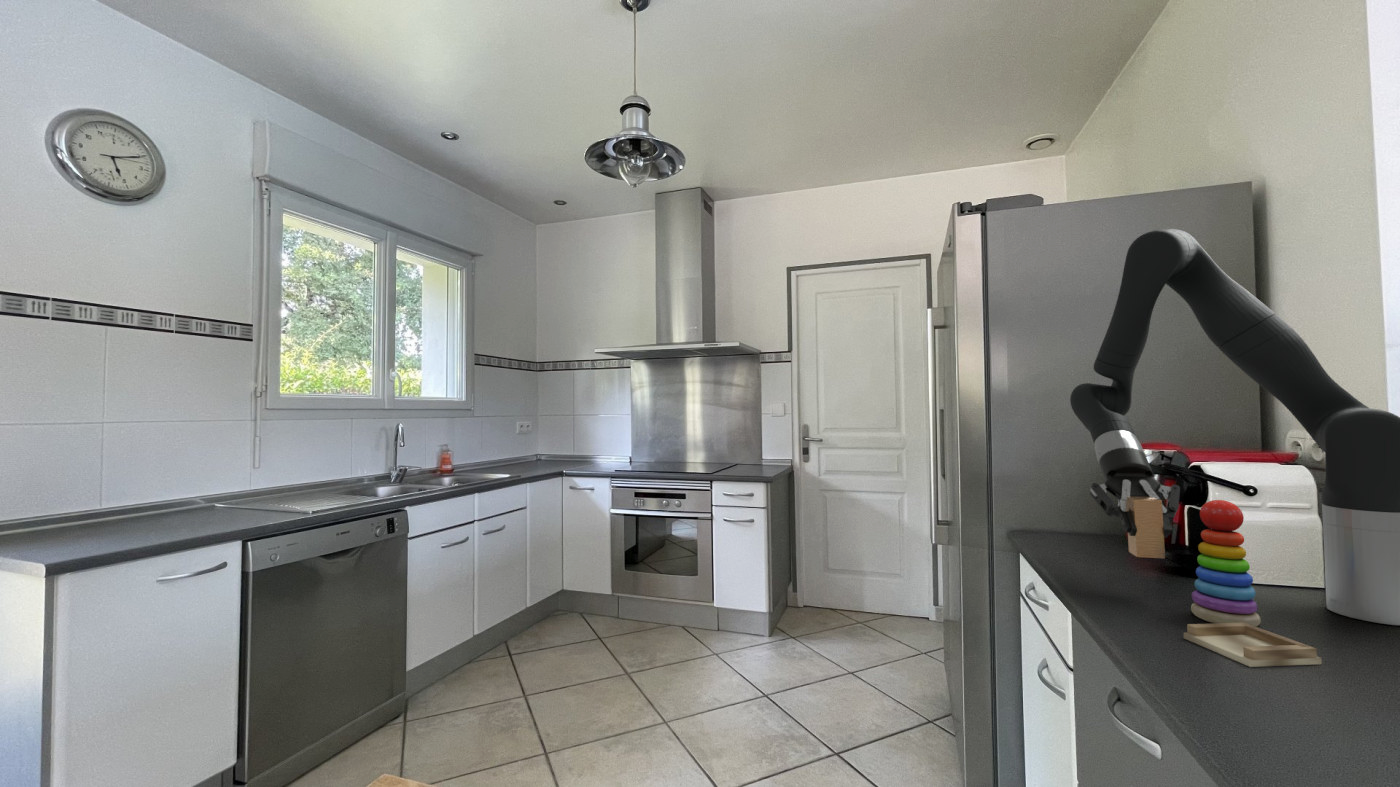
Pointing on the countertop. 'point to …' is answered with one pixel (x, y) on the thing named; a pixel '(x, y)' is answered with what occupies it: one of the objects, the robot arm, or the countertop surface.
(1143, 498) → the brown rectangular block
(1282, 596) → the countertop surface
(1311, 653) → the wooden tray
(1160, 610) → the countertop surface
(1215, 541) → the stacking toy
